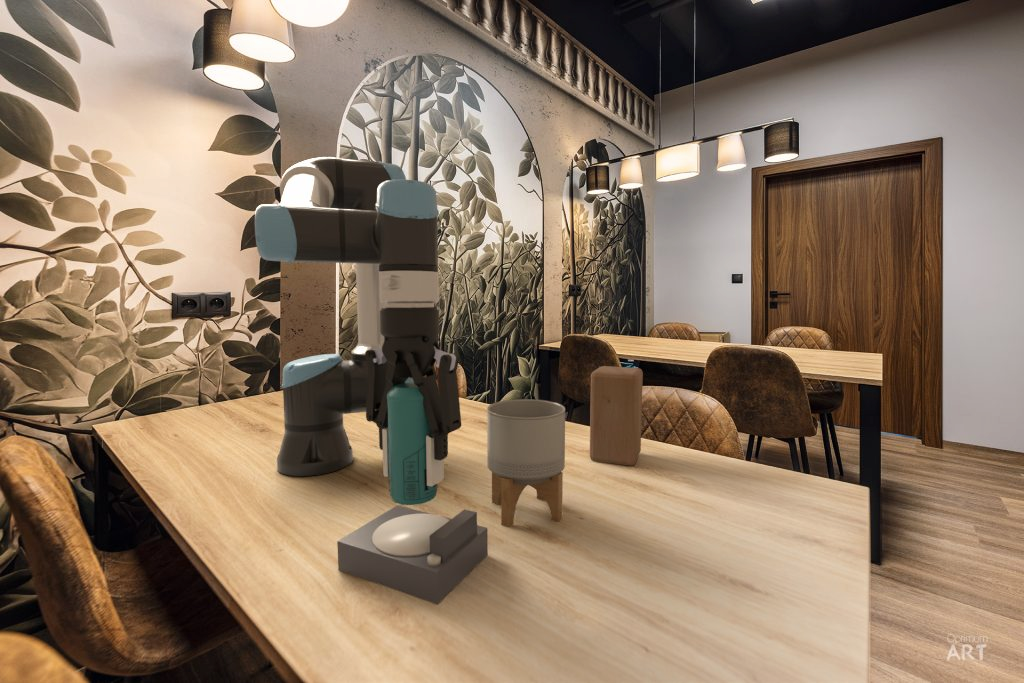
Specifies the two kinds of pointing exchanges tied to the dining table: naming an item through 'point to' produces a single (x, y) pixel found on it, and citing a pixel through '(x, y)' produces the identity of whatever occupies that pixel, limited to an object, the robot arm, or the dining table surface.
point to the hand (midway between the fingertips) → (413, 477)
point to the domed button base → (415, 551)
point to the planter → (526, 453)
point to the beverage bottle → (407, 442)
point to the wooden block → (616, 414)
